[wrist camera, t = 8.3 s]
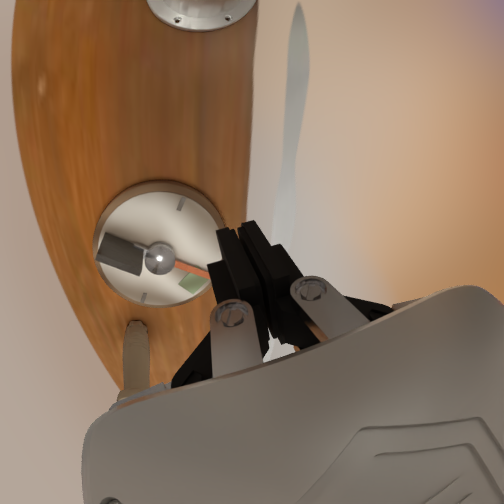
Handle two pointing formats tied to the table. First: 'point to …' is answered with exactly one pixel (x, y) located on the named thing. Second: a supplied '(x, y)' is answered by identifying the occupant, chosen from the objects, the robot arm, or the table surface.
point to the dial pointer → (141, 257)
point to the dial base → (161, 240)
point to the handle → (135, 360)
